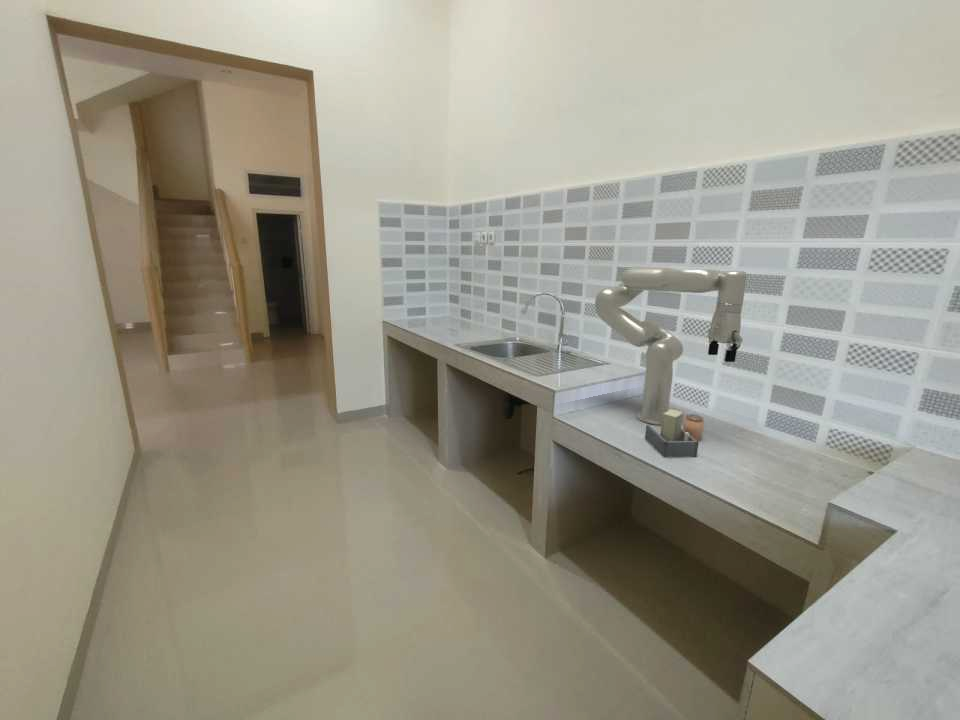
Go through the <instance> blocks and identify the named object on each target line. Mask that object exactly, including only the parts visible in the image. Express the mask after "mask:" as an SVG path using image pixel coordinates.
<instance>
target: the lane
mask: <svg viewBox="0 0 960 720" xmlns="http://www.w3.org/2000/svg"><path fill="white" fill-rule="evenodd" d="M685 433H687V432H685V431H684V430H683V428H682V427H681V433H680V440H679V441H666V440H665V439H664V438H663V437H662V436H661V435H660V433H659V432H657V431H656V430H655V429H654V428H653V427H652V426H651V424H646V426H645V435H644V439H645V440H646V441H647V442H648V443H649V444H650V445H651V446H652V447H653V448H654V449H655V450H656V451H657V452H658V453H659V454H660V455H661V456H662V457H663V458H670V457H671V458H673V457H674V458H677V457H679V458H685V457H687V456H688V457H689V456H690V457H694V456H695V457H697V456H698V450H699V449H698V448H699V442H700V441H697V440H695V439H694V438H693V437H692V436H690V435H689V439H688V441H684V436H685ZM682 456H683V457H682ZM684 456H685V457H684Z"/></svg>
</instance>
